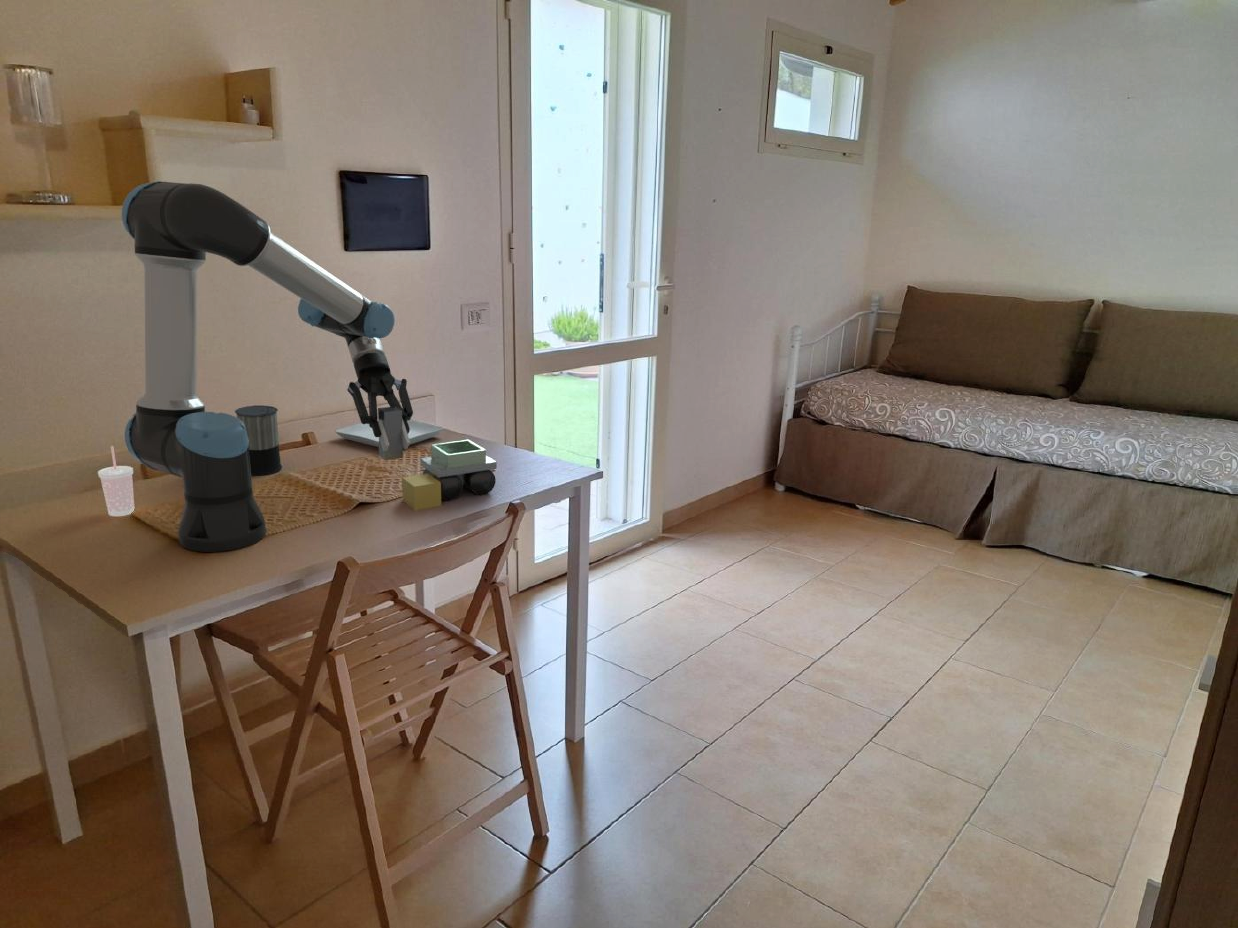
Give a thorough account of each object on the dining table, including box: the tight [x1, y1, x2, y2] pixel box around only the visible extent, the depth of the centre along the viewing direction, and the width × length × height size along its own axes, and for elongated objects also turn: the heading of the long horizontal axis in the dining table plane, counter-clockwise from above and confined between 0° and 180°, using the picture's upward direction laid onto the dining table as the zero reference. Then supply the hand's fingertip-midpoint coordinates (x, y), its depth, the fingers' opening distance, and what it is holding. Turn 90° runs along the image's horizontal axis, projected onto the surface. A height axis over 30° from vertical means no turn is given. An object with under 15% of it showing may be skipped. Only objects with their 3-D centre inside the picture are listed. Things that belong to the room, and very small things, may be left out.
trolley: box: [420, 439, 498, 502], centre depth 187 cm, size 14×10×11 cm
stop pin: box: [377, 406, 404, 461], centre depth 184 cm, size 4×4×11 cm
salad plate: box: [335, 418, 445, 448], centre depth 226 cm, size 21×21×3 cm
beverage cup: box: [97, 445, 135, 517], centre depth 166 cm, size 6×6×14 cm
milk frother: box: [234, 404, 283, 476], centre depth 193 cm, size 14×16×15 cm
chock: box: [401, 473, 442, 511], centre depth 180 cm, size 6×7×6 cm
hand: (396, 446), depth 182 cm, fingers closed on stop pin, 4 cm apart
